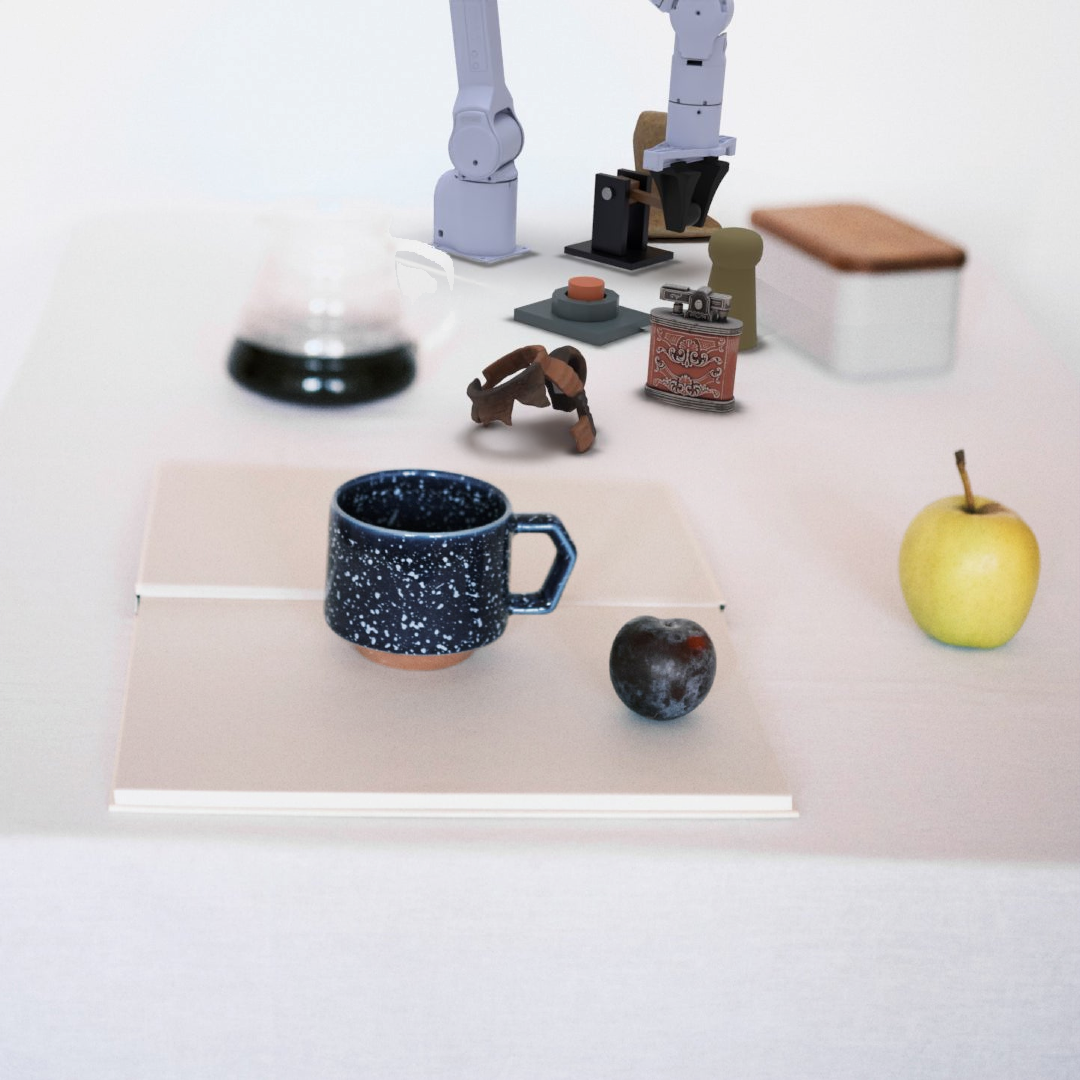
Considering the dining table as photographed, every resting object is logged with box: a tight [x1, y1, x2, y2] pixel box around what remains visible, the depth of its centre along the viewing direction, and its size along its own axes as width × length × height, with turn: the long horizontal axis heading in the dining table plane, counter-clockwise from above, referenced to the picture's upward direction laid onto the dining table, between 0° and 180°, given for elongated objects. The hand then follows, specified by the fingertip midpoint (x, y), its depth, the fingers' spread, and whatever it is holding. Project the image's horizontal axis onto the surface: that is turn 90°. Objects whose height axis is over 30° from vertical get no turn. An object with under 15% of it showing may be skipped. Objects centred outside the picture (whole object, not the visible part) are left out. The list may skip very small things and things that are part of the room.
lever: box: [618, 175, 701, 227], centre depth 154 cm, size 12×3×3 cm, turn 49°
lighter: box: [643, 282, 743, 413], centre depth 117 cm, size 8×3×10 cm, turn 65°
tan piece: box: [632, 110, 723, 239], centre depth 168 cm, size 15×12×15 cm
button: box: [567, 275, 606, 301], centre depth 136 cm, size 4×4×2 cm
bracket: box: [563, 168, 675, 272], centre depth 158 cm, size 10×8×10 cm
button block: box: [513, 285, 652, 347], centre depth 137 cm, size 11×9×3 cm
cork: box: [707, 226, 764, 352], centre depth 132 cm, size 6×6×11 cm
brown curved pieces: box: [466, 344, 597, 453], centre depth 110 cm, size 12×10×8 cm
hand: (684, 228), depth 153 cm, fingers closed on lever, 3 cm apart
